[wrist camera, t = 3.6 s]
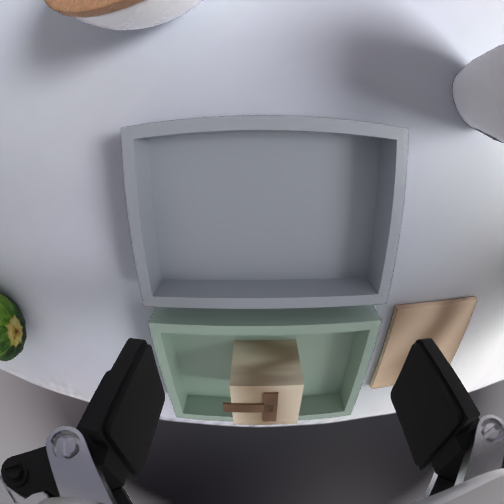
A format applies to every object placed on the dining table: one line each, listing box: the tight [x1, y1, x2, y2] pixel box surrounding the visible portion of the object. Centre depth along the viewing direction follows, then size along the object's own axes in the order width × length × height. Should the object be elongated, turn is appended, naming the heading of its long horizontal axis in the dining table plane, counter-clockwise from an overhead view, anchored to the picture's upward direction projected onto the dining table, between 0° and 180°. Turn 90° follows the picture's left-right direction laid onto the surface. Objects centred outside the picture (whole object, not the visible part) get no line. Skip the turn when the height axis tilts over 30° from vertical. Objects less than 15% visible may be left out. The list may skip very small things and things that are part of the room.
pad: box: [370, 296, 477, 389], centre depth 23 cm, size 10×10×1 cm
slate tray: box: [121, 115, 408, 309], centre depth 17 cm, size 17×12×3 cm
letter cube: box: [223, 339, 304, 425], centre depth 21 cm, size 6×5×5 cm
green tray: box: [148, 305, 382, 421], centre depth 22 cm, size 17×12×3 cm
